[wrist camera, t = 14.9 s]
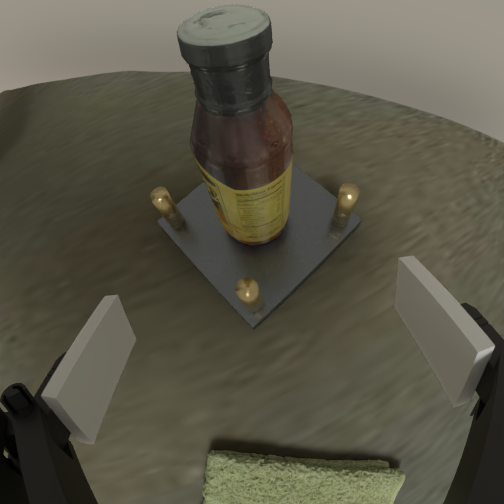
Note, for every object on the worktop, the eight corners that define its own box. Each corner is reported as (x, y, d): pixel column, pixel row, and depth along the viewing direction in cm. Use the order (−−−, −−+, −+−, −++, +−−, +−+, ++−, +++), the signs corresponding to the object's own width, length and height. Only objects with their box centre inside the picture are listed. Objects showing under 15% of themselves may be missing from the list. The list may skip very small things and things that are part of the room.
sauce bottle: (225, 189, 30) (172, 0, 12) (289, 190, 30) (293, -9, 11) (218, 251, 28) (130, 63, 9) (288, 254, 27) (299, 49, 9)
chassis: (161, 227, 31) (136, 196, 25) (260, 147, 34) (255, 105, 28) (254, 329, 27) (245, 318, 21) (358, 226, 29) (374, 192, 23)
